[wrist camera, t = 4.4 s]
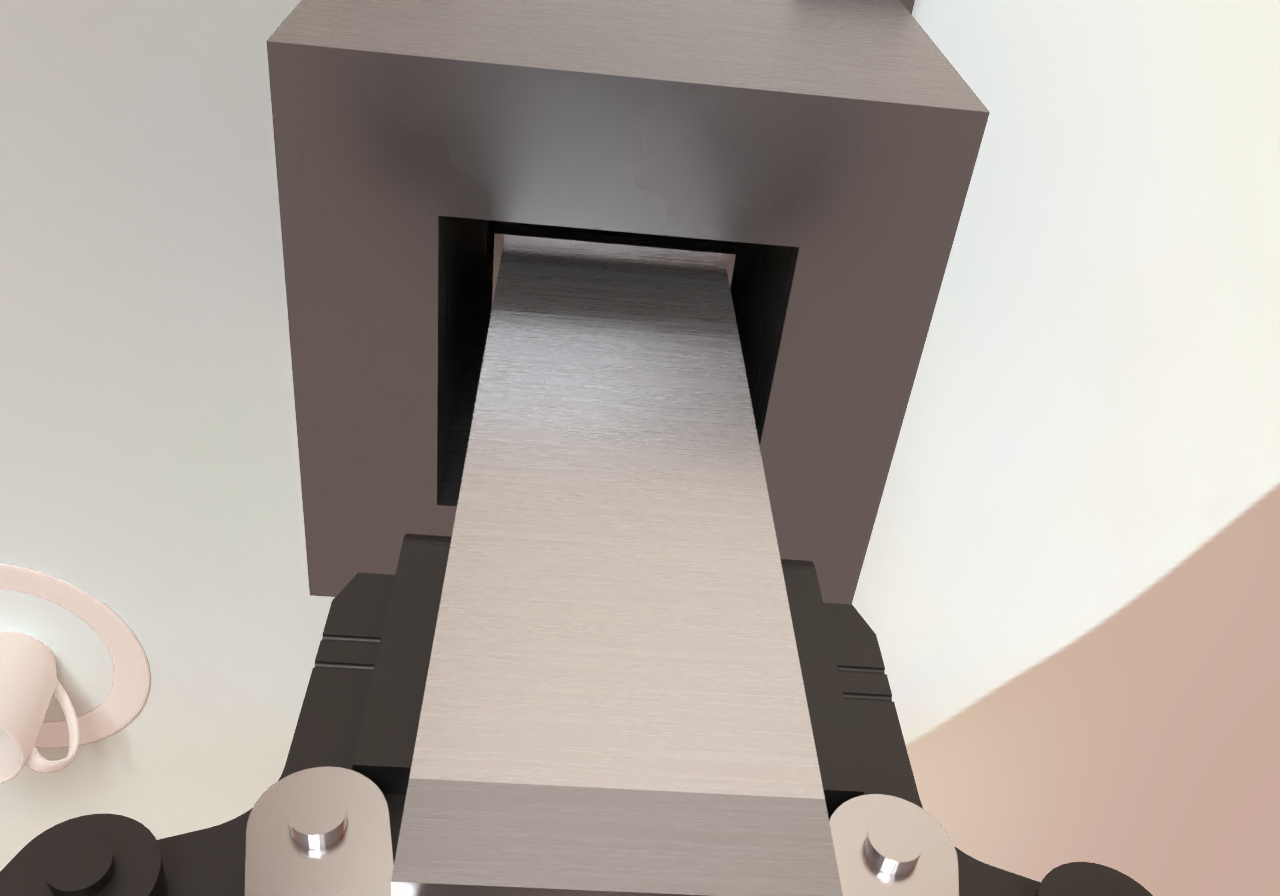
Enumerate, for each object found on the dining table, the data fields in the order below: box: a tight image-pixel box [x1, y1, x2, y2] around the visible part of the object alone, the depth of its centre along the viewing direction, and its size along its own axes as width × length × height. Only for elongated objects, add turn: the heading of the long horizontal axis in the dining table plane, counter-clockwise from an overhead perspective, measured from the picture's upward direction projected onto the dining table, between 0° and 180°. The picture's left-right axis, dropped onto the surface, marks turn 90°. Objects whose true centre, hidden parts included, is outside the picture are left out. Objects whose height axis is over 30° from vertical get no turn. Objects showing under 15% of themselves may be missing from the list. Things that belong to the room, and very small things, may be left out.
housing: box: [267, 0, 989, 604], centre depth 22 cm, size 12×12×11 cm
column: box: [391, 221, 843, 896], centre depth 18 cm, size 4×4×19 cm
